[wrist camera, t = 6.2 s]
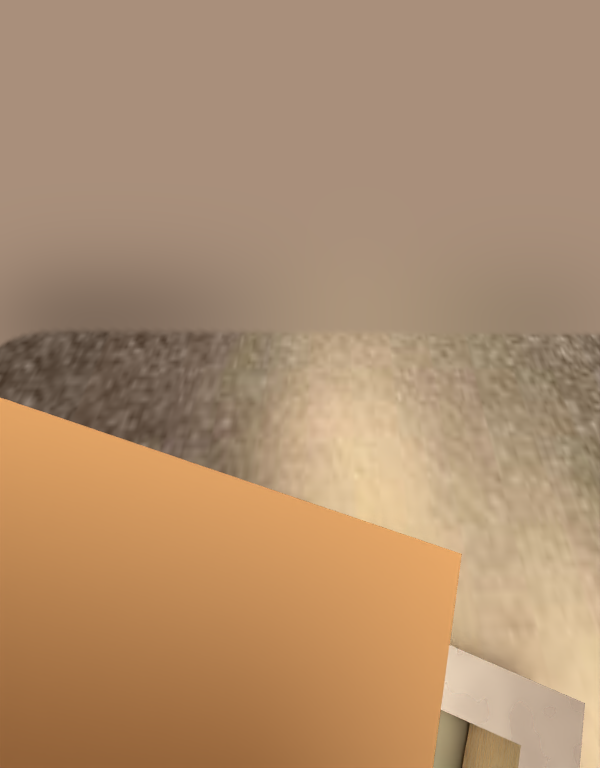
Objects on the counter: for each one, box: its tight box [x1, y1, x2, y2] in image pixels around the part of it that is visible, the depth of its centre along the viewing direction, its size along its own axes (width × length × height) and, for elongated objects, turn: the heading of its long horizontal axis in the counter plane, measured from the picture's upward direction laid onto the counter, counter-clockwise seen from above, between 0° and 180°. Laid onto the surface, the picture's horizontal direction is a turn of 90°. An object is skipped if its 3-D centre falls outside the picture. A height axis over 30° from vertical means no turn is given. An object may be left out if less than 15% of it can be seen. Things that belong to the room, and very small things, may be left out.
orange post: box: [0, 398, 462, 768], centre depth 8 cm, size 4×4×13 cm
